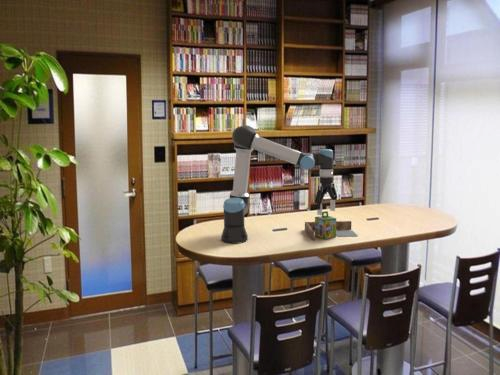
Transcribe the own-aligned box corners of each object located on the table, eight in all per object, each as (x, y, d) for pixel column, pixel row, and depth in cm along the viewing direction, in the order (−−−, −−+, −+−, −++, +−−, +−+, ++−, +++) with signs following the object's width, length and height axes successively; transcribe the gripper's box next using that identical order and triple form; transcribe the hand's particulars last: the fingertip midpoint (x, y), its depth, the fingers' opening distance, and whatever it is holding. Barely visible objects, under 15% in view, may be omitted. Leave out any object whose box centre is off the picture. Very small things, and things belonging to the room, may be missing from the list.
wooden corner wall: (311, 239, 262) (311, 231, 261) (304, 229, 284) (304, 221, 283) (360, 238, 264) (361, 230, 263) (350, 228, 285) (350, 220, 285)
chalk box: (324, 239, 262) (324, 214, 260) (314, 236, 270) (314, 211, 268) (336, 237, 267) (337, 212, 264) (326, 233, 275) (326, 209, 272)
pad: (337, 236, 268) (337, 236, 268) (332, 231, 280) (332, 230, 280) (357, 236, 268) (357, 235, 268) (352, 230, 280) (352, 230, 280)
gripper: (319, 179, 251) (319, 217, 254) (343, 174, 269) (343, 209, 273) (308, 178, 256) (308, 215, 259) (332, 173, 274) (332, 208, 278)
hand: (326, 212), depth 266 cm, fingers open, 13 cm apart
